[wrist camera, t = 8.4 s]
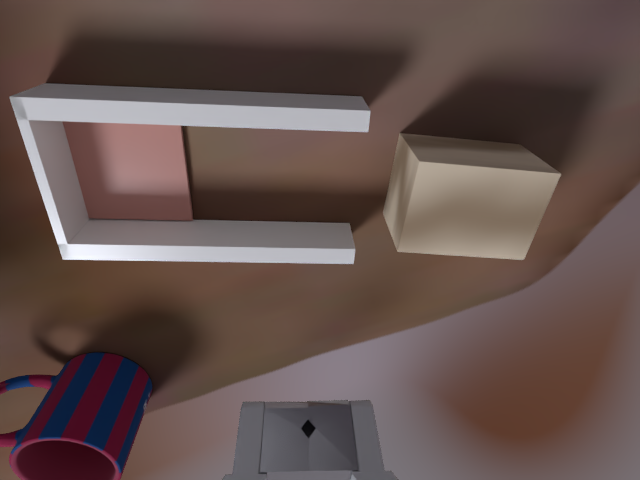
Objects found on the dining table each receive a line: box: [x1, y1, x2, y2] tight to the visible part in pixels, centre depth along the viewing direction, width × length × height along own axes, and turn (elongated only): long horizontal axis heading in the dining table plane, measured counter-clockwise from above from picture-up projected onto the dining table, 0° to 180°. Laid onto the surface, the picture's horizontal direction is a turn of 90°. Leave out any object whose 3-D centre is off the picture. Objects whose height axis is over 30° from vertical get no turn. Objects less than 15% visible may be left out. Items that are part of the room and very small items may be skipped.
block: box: [383, 133, 561, 260], centre depth 23 cm, size 5×7×4 cm
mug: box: [0, 352, 152, 480], centre depth 29 cm, size 7×10×7 cm
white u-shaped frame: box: [9, 83, 370, 264], centre depth 22 cm, size 9×16×3 cm, turn 87°
